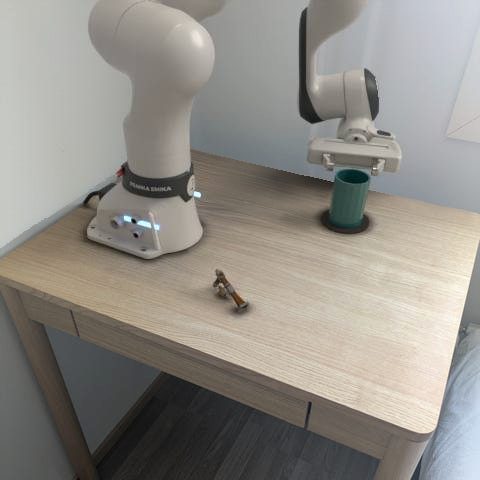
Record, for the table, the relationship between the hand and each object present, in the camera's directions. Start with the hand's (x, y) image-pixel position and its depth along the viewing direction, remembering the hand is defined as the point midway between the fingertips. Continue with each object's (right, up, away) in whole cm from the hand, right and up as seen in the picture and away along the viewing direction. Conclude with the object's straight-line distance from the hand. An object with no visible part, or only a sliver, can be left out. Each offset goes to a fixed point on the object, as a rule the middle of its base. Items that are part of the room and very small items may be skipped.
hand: (352, 170), depth 103 cm
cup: (-2, -11, -1) cm, 11 cm away
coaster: (-2, -11, -1) cm, 11 cm away
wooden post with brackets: (-25, -28, -21) cm, 43 cm away
